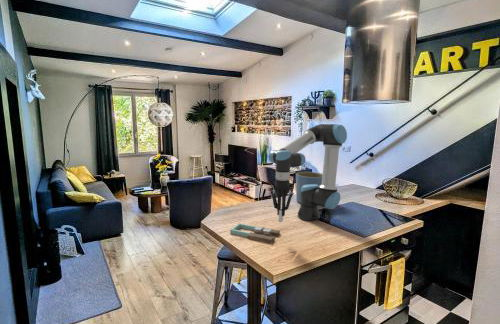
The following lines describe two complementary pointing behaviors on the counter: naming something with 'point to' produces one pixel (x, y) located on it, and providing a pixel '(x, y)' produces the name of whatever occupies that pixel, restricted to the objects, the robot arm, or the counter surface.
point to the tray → (241, 233)
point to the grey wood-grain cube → (267, 232)
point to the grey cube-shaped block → (258, 230)
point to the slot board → (264, 236)
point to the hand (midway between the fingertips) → (280, 221)
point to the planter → (306, 181)
